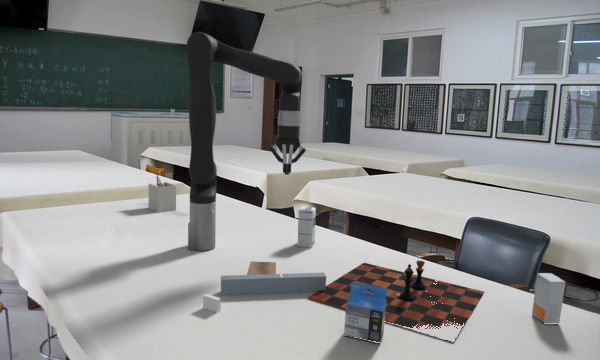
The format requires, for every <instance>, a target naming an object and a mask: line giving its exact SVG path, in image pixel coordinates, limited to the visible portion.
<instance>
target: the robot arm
mask: <svg viewBox="0 0 600 360" xmlns="http://www.w3.org/2000/svg"><path fill="white" fill-rule="evenodd" d="M185 49H186V57H187V67H188V122H189V136H190V145H191V146H190V147H191V148H190V156H189V157H190V159H189V167H188V174H189V177H190V189H189V222H188V224H187V227H188V228H187V240H188V241H187V249H188V250H193V251H198V252H202V251H203V252H204V251H210V250H213V249H215V248H216V226H217V225H216V215H217V214H216V212H217V210H216V209H217V208H216V207H217V204H216V203H217V177H218V175H217V174H218V173H217V171H218V170H217V164H216V162H215V160H214V146H213V145H214V138H215V130H216V123H217V101H216V96H215V91H214V87H213V83H212V79H211V78H212V77H211V63H216V64H217V63H218V64H222V65H226V66H230V67H233V68H236V69H238V70H241V71H243V72H245V73H248V74H251V75H255V76H258V77H261V78H264V79H270V80H273V81H275V82H278V83H280V84H281V93H280V96H279V100H278V101H279V102H278V116H277V139H276V141H275V144H274V145H272V146H270V147H269V150H270V152H271V153H272V155H273V157H275V159H276V160H277V161H278V162H279V163H282V172H283V174H284V175H288V176H289V175H290V174H291V172H292V164H294V163H295V164H296V163H297V162H298V161H299V160H300V158H302V156H303V155H304V154H305V152H306V151H307V149H306V148H305V147H303V145H302V144H301V142H300V131H301V130H300V128H301V127H300V126H301V112H300V110H301V108H300V107H301V92H302V84H303V74H302V72H303V71H302V70H301V68H300V67H299V66H297V65H295V64H294V63H290V62H286V61H283V60H278V59H274V58H272V57H270V56H268V55H267V56H266V55H263V54H260V53H256V52H253V51H249V50H244V49H239V48H236V47H233V46H231V45H227V44H226V43H223V42H221V41H219V40H218V39H216V38H214V37H213V36H212V35H210V34H208V33H205V32H202V31H195V32H193V33H191V34H190V36H189V37H188V39H187V41H186V47H185ZM278 150H279V151H280V153H281V154H282V157H281V155H280V154H279V153H278V152H277V151H278ZM297 150H298V153H297V154H296V156H295V157H293V155H294V154H295V153H296V152H297ZM287 155H288V157H287ZM287 158H288V159H287Z"/></svg>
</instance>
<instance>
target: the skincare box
mask: <svg viewBox="0 0 600 360" xmlns="http://www.w3.org/2000/svg"><path fill="white" fill-rule="evenodd" d="M565 288H566V281H565V280H563V279H561V278H560V277H559V276H557V275H555V274H554V273H551V272H549V273H548V272H539V273H537V275H536V281H535V289H534V297H533V302H532V303H533V304H532V311H531V315H532V314H533V315H532V316H534V317H535V318H536V317H537V318H538V319H540V320H541V321H542V322H544V323H559V324H560V323H561V315H562V308H563V301H564V293H565ZM537 318H536V319H537ZM538 319H537V320H538ZM540 320H539V321H540ZM541 321H540V322H541ZM542 322H541V323H542Z"/></svg>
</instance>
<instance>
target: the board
mask: <svg viewBox="0 0 600 360" xmlns="http://www.w3.org/2000/svg"><path fill="white" fill-rule="evenodd" d="M326 286H327V275H326V274H325V272H301V273H300V272H297V273H295V272H294V273H281V272H280V273H276V274H260V275H247V274H237V275H236V274H234V275H232V274H231V275H220V296H221V297H223V296H224V295H225V297H226V295H229V296H248V295H249V296H251V295H253V294H255V295H273V294H274V295H275V294H277V295H279V294H300V293H316V292H317V291H319V290H326ZM250 294H251V295H250ZM253 296H254V295H253Z"/></svg>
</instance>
